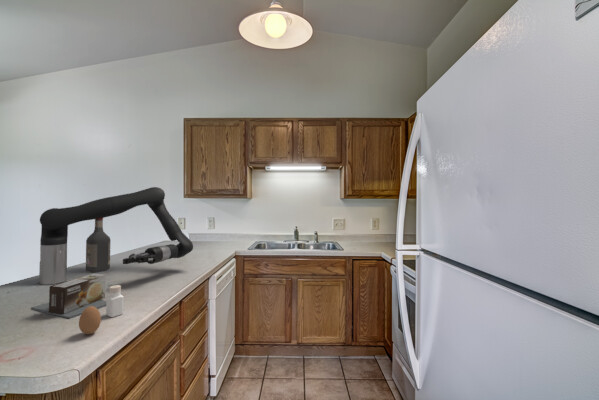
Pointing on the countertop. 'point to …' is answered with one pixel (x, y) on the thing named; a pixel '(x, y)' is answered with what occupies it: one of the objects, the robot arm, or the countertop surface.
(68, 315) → the mat
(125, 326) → the countertop surface
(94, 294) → the coffee box
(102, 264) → the liquor
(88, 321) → the egg
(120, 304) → the salt shaker
